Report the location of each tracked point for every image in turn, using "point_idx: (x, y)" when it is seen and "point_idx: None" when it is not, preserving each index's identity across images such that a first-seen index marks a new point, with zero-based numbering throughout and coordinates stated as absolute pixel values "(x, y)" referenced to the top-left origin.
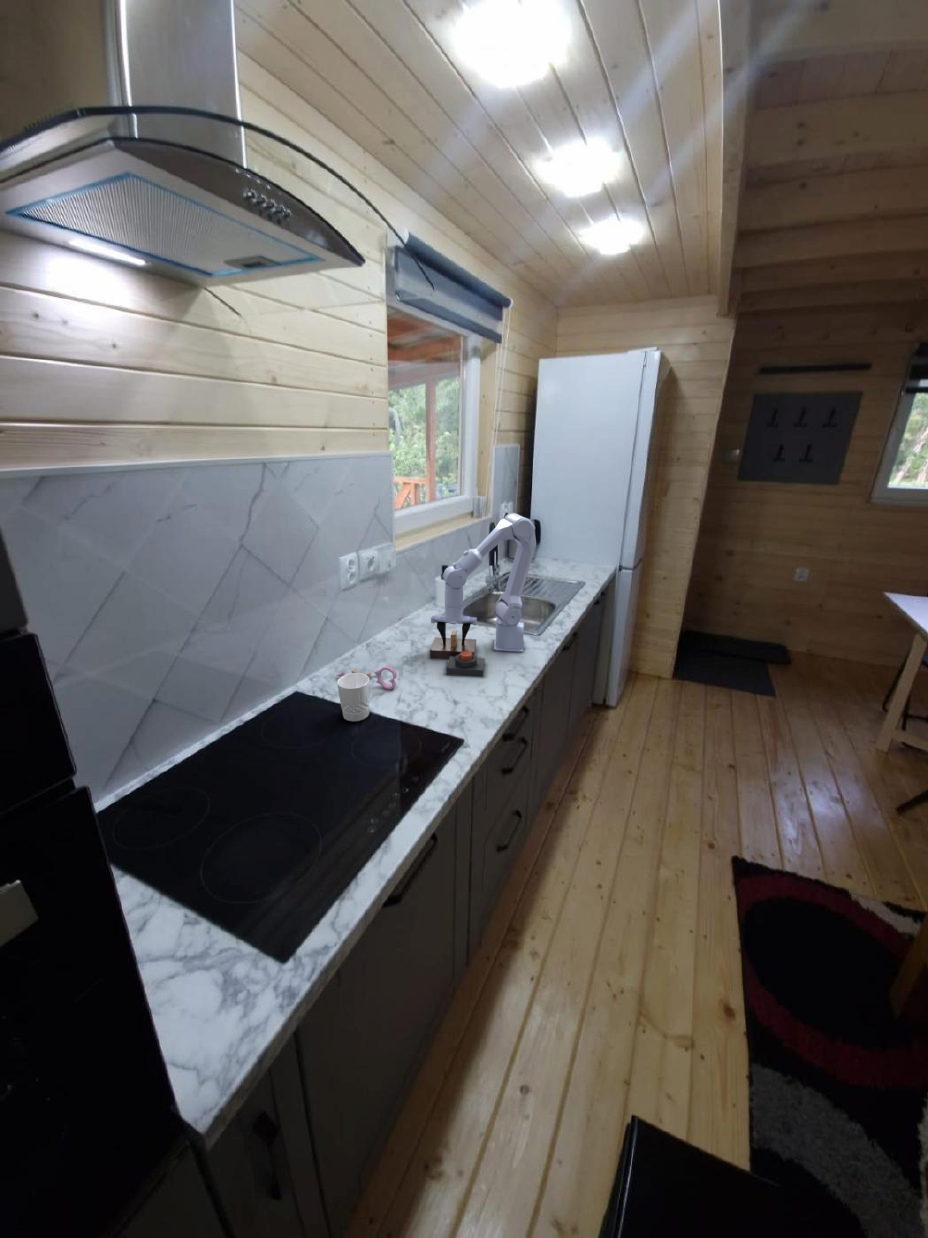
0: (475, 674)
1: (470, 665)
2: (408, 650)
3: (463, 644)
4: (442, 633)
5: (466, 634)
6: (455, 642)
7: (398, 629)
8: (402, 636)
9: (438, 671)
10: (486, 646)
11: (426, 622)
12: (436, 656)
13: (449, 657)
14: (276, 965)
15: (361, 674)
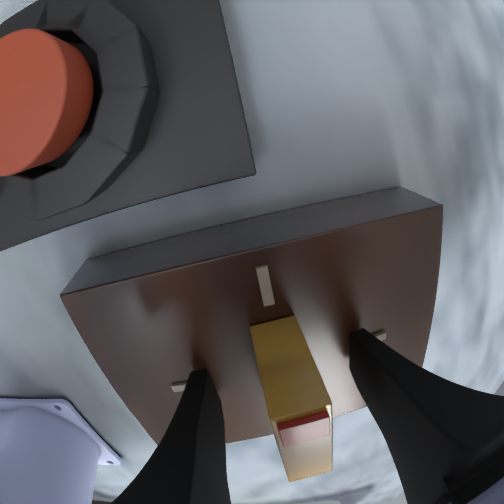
0: None
1: None
2: (497, 248)
3: (189, 377)
4: (428, 392)
5: (145, 464)
6: (257, 361)
7: (497, 378)
8: (498, 348)
9: (285, 5)
10: (124, 424)
11: None
12: (372, 199)
13: (250, 149)
14: None
15: None
